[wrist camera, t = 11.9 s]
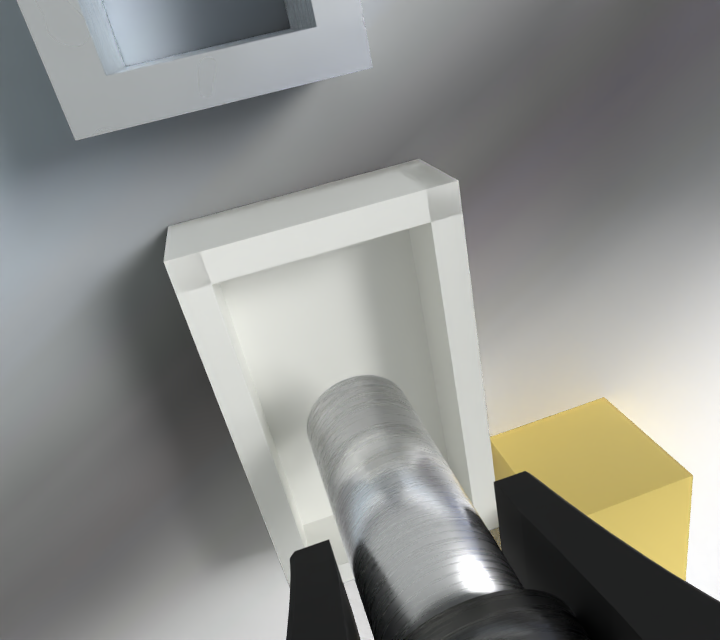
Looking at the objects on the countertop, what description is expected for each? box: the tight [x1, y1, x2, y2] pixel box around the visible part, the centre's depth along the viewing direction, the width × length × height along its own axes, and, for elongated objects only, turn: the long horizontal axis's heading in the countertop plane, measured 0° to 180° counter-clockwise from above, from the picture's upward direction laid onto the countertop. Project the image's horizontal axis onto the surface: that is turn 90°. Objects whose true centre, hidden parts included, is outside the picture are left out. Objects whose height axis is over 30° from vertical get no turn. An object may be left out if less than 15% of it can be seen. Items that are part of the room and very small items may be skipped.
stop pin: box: [307, 375, 591, 640], centre depth 11 cm, size 3×3×7 cm
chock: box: [490, 397, 693, 581], centre depth 18 cm, size 4×6×4 cm, turn 13°
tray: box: [164, 159, 499, 587], centre depth 15 cm, size 6×10×2 cm, turn 12°
